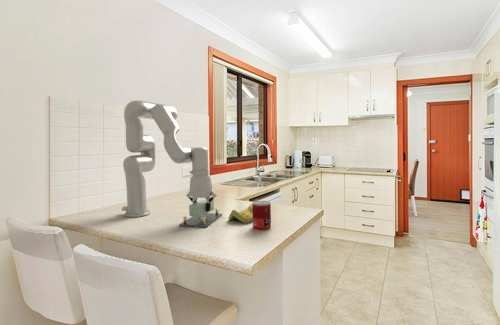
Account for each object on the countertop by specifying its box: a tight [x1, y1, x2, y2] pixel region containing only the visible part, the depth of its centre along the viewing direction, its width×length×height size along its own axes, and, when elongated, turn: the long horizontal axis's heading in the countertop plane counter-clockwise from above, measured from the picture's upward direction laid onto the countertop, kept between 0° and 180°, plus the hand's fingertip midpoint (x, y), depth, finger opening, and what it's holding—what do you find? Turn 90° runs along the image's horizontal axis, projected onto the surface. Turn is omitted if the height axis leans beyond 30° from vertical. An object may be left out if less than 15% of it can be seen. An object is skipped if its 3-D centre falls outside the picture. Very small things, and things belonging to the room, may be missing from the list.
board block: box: [188, 199, 215, 217], centre depth 141 cm, size 5×14×5 cm, turn 158°
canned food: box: [251, 200, 272, 231], centre depth 128 cm, size 8×8×11 cm
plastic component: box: [228, 199, 260, 224], centre depth 145 cm, size 20×7×10 cm
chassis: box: [178, 207, 223, 229], centre depth 141 cm, size 13×22×4 cm, turn 167°
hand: (202, 210), depth 141 cm, fingers closed on board block, 5 cm apart
